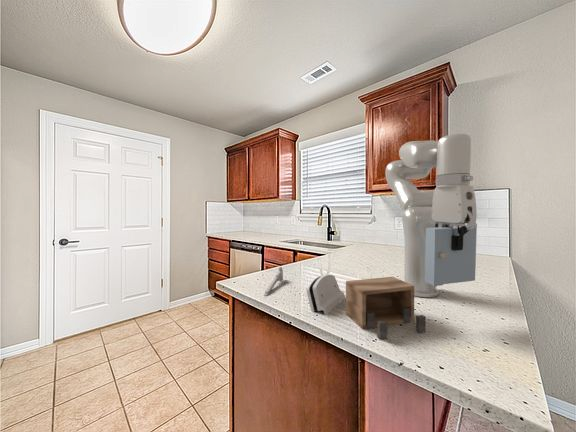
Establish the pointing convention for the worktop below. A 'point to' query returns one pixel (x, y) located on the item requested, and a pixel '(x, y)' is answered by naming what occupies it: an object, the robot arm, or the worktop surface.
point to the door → (449, 257)
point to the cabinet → (381, 304)
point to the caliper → (277, 278)
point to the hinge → (324, 293)
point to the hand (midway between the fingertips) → (450, 248)
